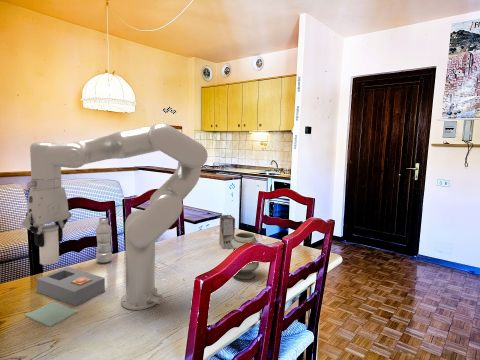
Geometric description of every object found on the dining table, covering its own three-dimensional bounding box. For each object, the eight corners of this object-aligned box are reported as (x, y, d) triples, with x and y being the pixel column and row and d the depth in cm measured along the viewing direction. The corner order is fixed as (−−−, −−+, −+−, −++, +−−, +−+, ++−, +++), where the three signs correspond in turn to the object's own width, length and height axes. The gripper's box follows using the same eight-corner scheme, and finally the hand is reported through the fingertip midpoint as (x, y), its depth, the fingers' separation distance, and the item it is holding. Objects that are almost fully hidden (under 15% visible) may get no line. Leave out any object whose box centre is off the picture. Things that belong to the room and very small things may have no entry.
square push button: (91, 292, 110) (90, 277, 109) (80, 298, 106) (80, 282, 105) (82, 290, 111) (82, 275, 111) (72, 295, 108) (71, 279, 107)
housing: (104, 291, 112) (104, 277, 112) (74, 306, 101) (74, 291, 101) (68, 278, 120) (67, 266, 120) (36, 291, 110) (36, 278, 109)
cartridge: (63, 260, 95) (62, 225, 94) (46, 266, 91) (45, 229, 90) (52, 257, 98) (51, 223, 96) (35, 262, 93) (34, 227, 92)
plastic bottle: (106, 265, 135) (105, 220, 132) (92, 263, 136) (91, 219, 134) (115, 260, 141) (114, 217, 138) (102, 258, 142) (101, 216, 140)
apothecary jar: (224, 272, 132) (226, 232, 130) (249, 268, 137) (251, 229, 135) (237, 284, 121) (239, 240, 119) (263, 279, 127) (265, 237, 124)
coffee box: (234, 248, 163) (235, 218, 161) (222, 249, 161) (223, 219, 159) (229, 242, 171) (230, 214, 170) (218, 243, 170) (219, 215, 168)
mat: (77, 312, 98) (77, 311, 98) (50, 327, 90) (50, 325, 90) (53, 302, 103) (53, 301, 103) (24, 316, 95) (24, 314, 95)
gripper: (24, 188, 82) (27, 254, 84) (81, 182, 97) (82, 238, 100) (7, 186, 85) (11, 249, 87) (65, 180, 101) (67, 234, 103)
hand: (49, 242), depth 94 cm, fingers closed on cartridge, 5 cm apart
